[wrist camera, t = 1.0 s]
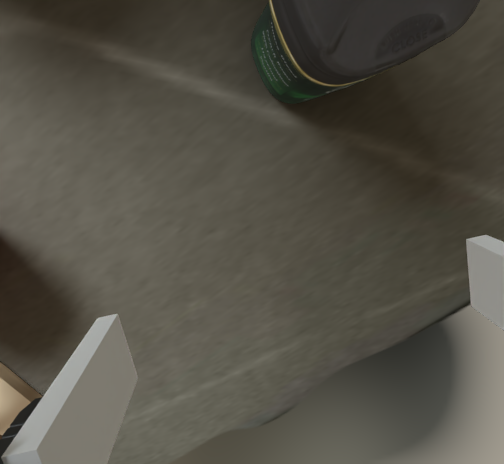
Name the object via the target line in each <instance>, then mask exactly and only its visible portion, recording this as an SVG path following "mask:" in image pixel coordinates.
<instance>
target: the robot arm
mask: <svg viewBox="0 0 504 464" xmlns="http://www.w3.org/2000/svg"><path fill="white" fill-rule="evenodd" d="M466 246H467V259H468V272H469V285H470V298H471V307H473V308H474V309H475V310H477V311H478V312H479V313H481V314H482V315H483V316H485V317H486V318H488V319H489V320H490V321H491V322H493V323H494V324H495V325H497V326H498V327H500V328H501V329H502V330H504V242H502V241H500V240H498V239H495V238H493V237H491V236H488V235H483V236H478V237H473V238H469V239H466ZM137 380H138V376H137V373H136V369H135V366H134V363H133V360H132V357H131V354H130V350H129V347H128V344H127V341H126V338H125V335H124V332H123V328H122V325H121V322H120V319H119V316H118V314H114V315H109V316H105V317H100V318H97V319H96V321H95V322H94V324H93V325H92V327H91V328H90V330H89V331H88V332H87V334H86V335H85V337H84V338H83V340H82V341H81V343H80V344H79V345H78V347H77V348H76V350H75V351H74V353H73V354H72V356H71V357H70V358H69V360H68V361H67V363H66V364H65V366H64V367H63V369H62V370H61V372H60V373H59V374H58V376H57V377H56V379H55V380H54V382H53V383H52V385H51V386H50V387H49V389H48V390H47V392H46V393H45V395H44V396H43V397H41V398H36V399H34V400H33V401H32V402H31V403H30V404H28V405H27V406H26V407H25V408H24V409H23V410H21V411H20V412H19V414H18V415H17V416H16V418H15V419H14V420H13V422H12V423H11V424H10V428H8V429H7V430H6V431H5V433H4V434H3V435H2V439H0V464H107V462H108V459H109V457H110V454H111V451H112V448H113V446H114V443H115V440H116V437H117V435H118V432H119V429H120V426H121V424H122V421H123V418H124V415H125V413H126V410H127V407H128V404H129V402H130V399H131V396H132V393H133V391H134V388H135V385H136V382H137Z"/></svg>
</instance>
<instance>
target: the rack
mask: <svg viewBox="0 0 504 464" xmlns="http://www.w3.org/2000/svg"><path fill="white" fill-rule="evenodd" d="M41 397H43V396H42V395H40V394H39V393H38V392H37V391H35V390H34V389H33V388H32V387H30V386H29V385H28V384H27V383H26V382H24V381H23V380H22V379H21V378H19V377H18V376H17V375H16V374H14V373H13V372H12V371H11V370H10V369H8V368H7V367H6V366H5V365H3V364H2V363H1V362H0V439H2V435H3V434H4V433H5V431H6V430H7V429H8V428H10V424H11V423H12V422H13V420H14V419H15V418H16V416H17V415H18V414H19V412H20V411H21V410H23V409H24V408H25V407H26V406H27V405H28V404H30V403H31V402H32V401H33V400H34V399H36V398H41Z"/></svg>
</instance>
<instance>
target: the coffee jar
mask: <svg viewBox="0 0 504 464" xmlns="http://www.w3.org/2000/svg"><path fill="white" fill-rule="evenodd" d="M479 1H480V0H269V2H268V4H267V5H266V7H265V9H264V11H263V12H262V14H261V16H260V18H259V20H258V22H257V24H256V26H255V28H254V31H253V34H252V39H251V48H252V54H253V58H254V61H255V64H256V66H257V69H258V72H259V74H260V76H261V78H262V80H263V82H264V84H265V86H266V87H267V89H268V90H269V92H270V93H271V94H272V95H273V96H274V97H275V98H276V99H278V100H280V101H282V102H285V103H291V104H294V103H300V102H304V101H308V100H311V99H314V98H317V97H320V96H323V95H325V94H328V93H331V92H334V91H337V90H341V89H343V88H346V87H349V86H352V85H354V84H357V83H359V82H362V81H364V80H366V79H369V78H371V77H373V76H375V75H378V74H380V73H382V72H384V71H387V70H389V69H391V68H393V67H395V66H397V65H399V64H401V63H403V62H405V61H407V60H409V59H410V58H413V57H415V56H417V55H418V54H419V53H421V52H423V51H425V50H427V49H428V48H430V47H432V46H433V45H435V44H437V43H439V42H441V41H443V40H445V39H446V38H448V37H449V36H451V35H452V34H454V33H455V32H456V31H457V30H458V29H460V28H461V27H462V26H463V25H464V24H465V23H466V21H467V20H468V19H469V17H470V16H471V15H472V13H473V12H474V11H475V9H476V7H477V5H478V3H479Z"/></svg>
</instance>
